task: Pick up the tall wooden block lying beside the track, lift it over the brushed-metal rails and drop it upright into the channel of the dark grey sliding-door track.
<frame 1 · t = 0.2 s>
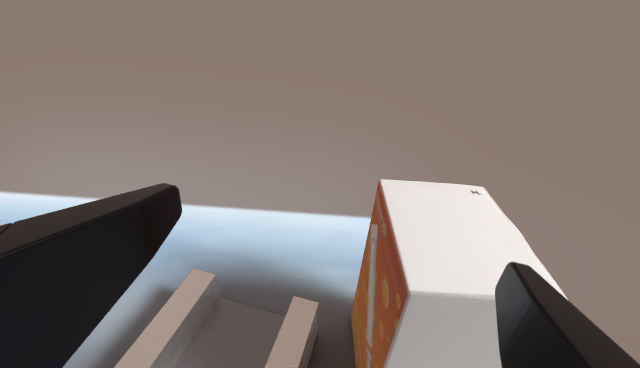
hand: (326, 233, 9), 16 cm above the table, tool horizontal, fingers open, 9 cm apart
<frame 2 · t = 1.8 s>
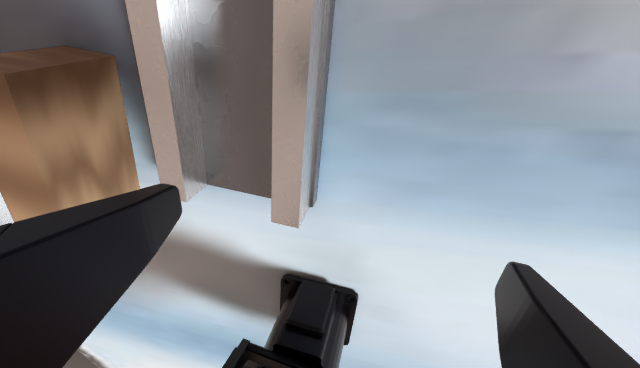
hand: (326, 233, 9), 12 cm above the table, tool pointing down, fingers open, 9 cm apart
tall wooden block: (112, 144, 26), on the table
door track: (246, 19, 18), on the table
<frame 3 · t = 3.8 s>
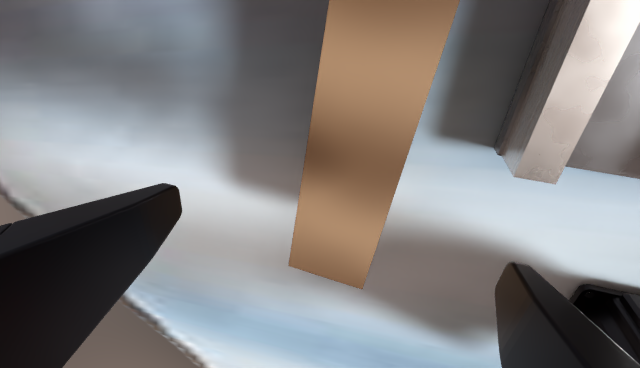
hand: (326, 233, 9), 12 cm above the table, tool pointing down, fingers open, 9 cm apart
tall wooden block: (373, 110, 19), on the table
when the fingers open (4 cm above the table, at t = 11.0 s): tall wooden block drops 2 cm, resting on door track.
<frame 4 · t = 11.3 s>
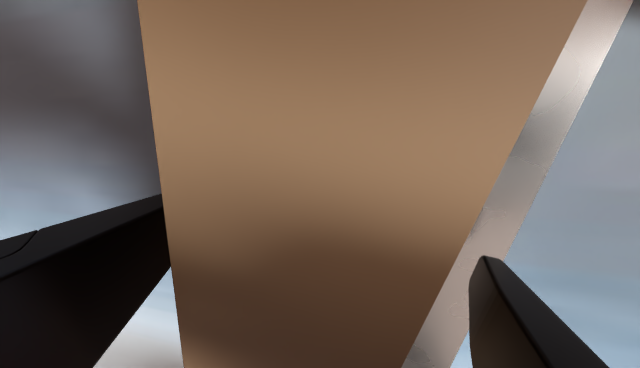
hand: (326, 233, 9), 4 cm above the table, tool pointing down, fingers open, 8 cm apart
tall wooden block: (348, 174, 12), point 1 cm above the table, touching door track
door track: (354, 162, 12), on the table
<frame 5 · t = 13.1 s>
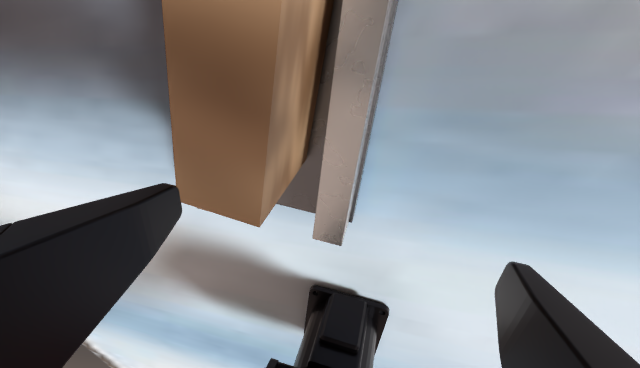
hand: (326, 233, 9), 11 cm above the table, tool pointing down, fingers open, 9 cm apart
tall wooden block: (289, 29, 16), point 1 cm above the table, touching door track
door track: (296, 27, 17), on the table
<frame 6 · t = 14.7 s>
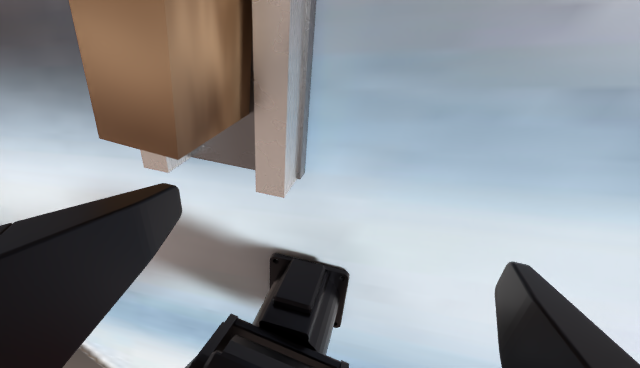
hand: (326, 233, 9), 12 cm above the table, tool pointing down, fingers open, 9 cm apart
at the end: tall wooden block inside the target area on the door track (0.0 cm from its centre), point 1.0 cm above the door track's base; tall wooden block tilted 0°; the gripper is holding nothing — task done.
